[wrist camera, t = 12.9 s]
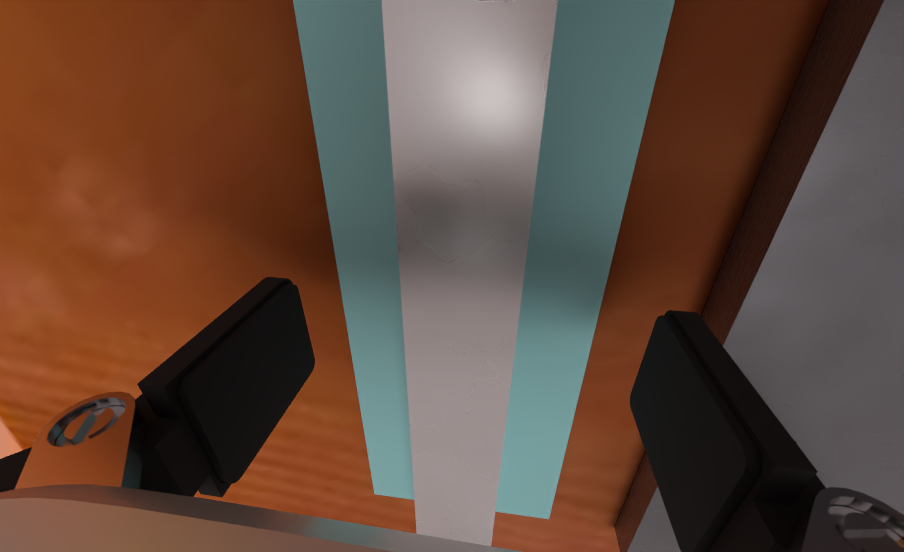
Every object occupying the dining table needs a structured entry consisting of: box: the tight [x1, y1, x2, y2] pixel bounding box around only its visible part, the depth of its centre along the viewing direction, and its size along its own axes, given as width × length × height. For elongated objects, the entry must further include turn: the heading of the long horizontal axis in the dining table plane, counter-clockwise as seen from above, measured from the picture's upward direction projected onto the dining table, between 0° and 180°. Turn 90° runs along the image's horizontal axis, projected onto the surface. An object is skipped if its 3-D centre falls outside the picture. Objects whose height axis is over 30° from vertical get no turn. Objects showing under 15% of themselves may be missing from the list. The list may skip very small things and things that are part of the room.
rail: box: [382, 0, 558, 546], centre depth 11 cm, size 26×3×3 cm, turn 179°
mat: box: [293, 0, 675, 519], centre depth 12 cm, size 30×9×1 cm, turn 0°
